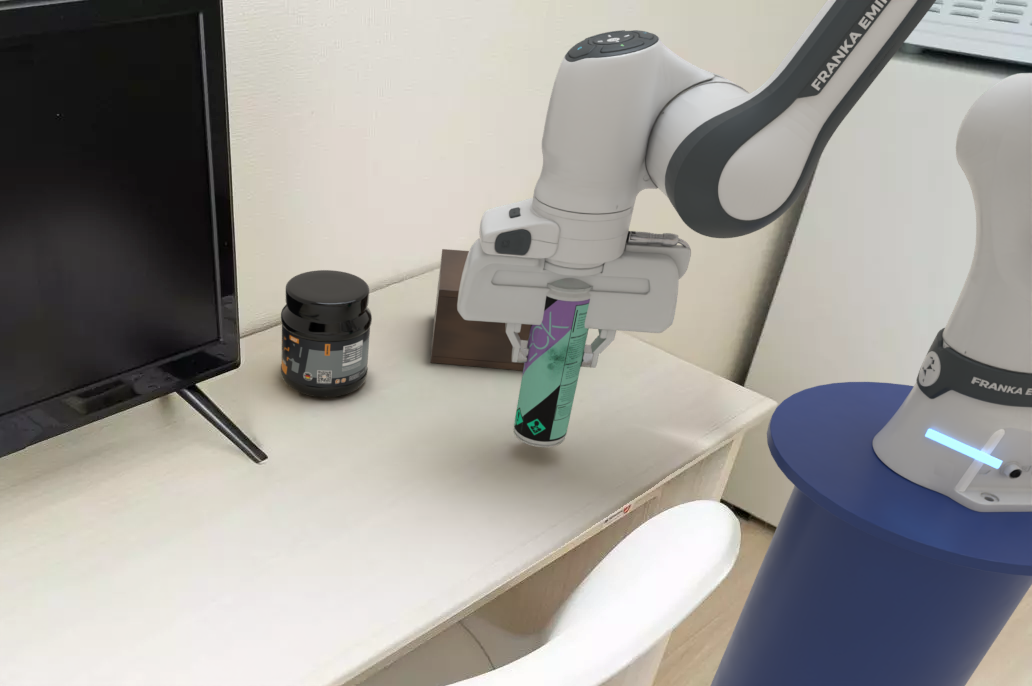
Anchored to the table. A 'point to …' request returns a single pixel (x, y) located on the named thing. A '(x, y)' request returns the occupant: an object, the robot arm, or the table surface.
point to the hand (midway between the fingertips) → (552, 362)
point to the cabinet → (467, 326)
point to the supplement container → (325, 333)
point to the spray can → (553, 365)
